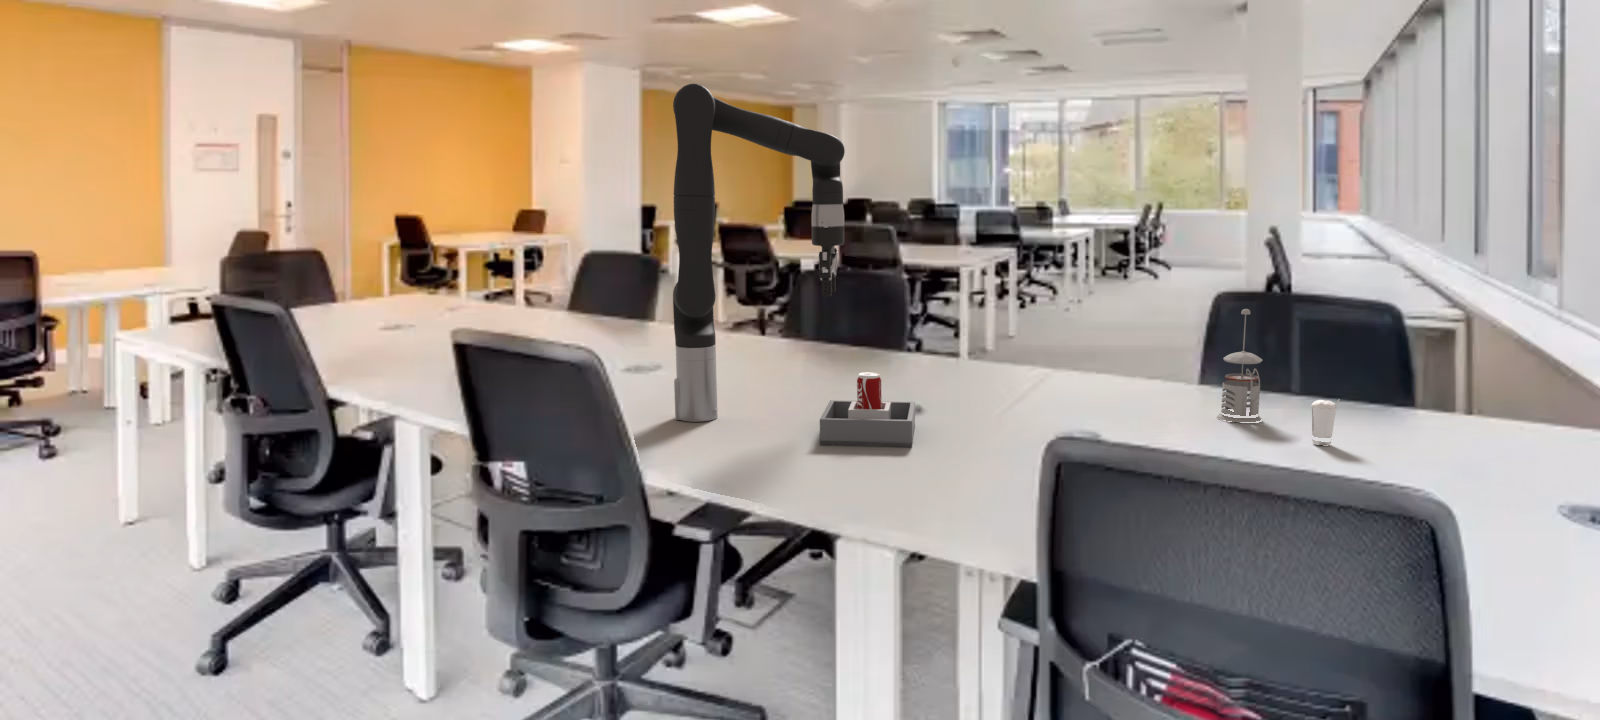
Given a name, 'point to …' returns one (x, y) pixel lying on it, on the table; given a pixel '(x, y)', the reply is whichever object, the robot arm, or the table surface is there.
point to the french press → (1241, 387)
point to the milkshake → (1323, 420)
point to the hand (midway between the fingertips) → (828, 294)
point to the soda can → (869, 391)
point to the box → (868, 424)
